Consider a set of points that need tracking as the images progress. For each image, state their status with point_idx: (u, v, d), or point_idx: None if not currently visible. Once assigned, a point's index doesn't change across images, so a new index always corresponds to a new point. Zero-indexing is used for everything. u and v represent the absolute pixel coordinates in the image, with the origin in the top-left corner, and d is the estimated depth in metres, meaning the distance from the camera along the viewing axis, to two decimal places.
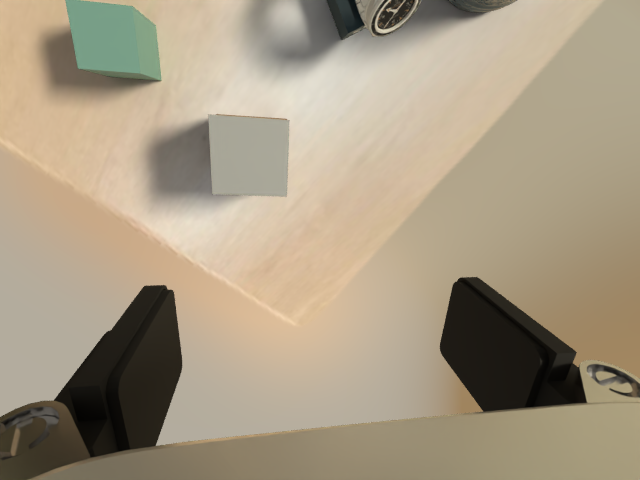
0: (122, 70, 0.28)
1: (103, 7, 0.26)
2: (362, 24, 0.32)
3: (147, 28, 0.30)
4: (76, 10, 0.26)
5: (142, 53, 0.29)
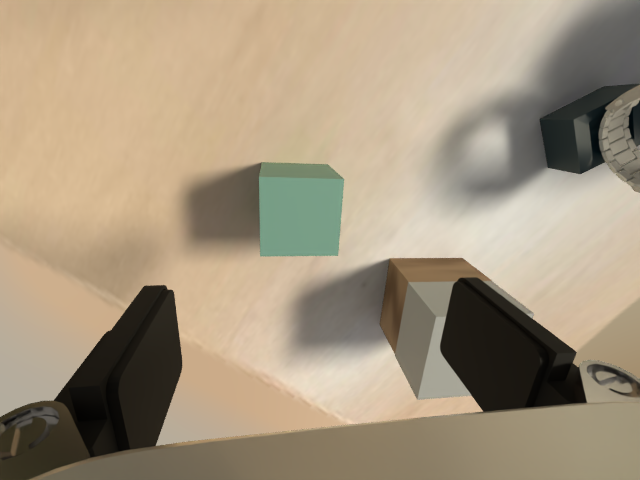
0: (315, 253, 0.21)
1: (306, 183, 0.19)
2: (600, 162, 0.24)
3: None
4: (271, 189, 0.19)
5: None
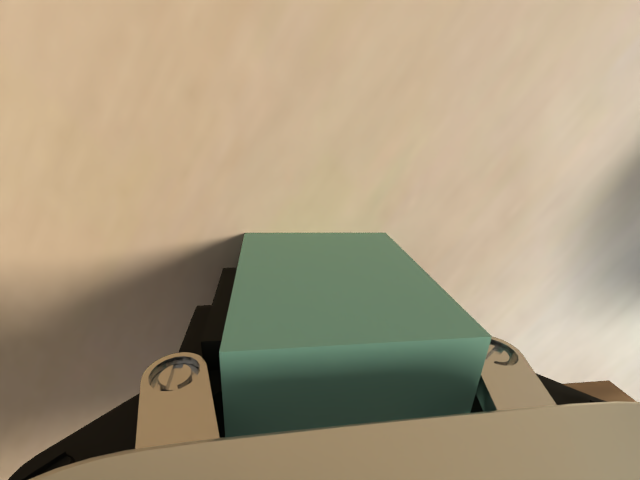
0: None
1: (377, 357, 0.06)
2: None
3: None
4: (261, 383, 0.06)
5: None
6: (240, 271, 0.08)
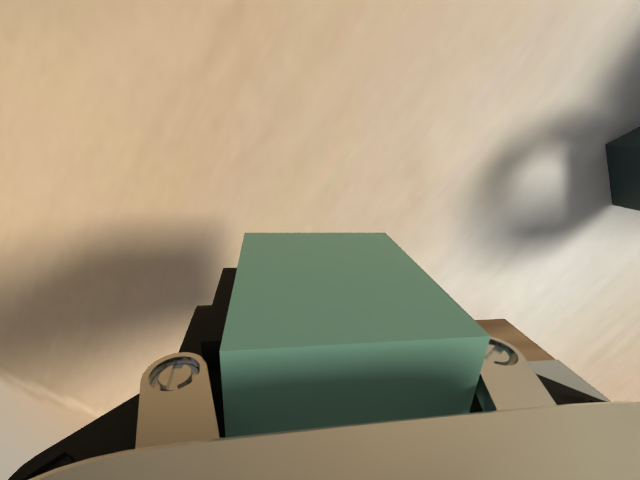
0: None
1: (376, 356, 0.06)
2: None
3: None
4: (261, 382, 0.06)
5: None
6: (240, 271, 0.08)
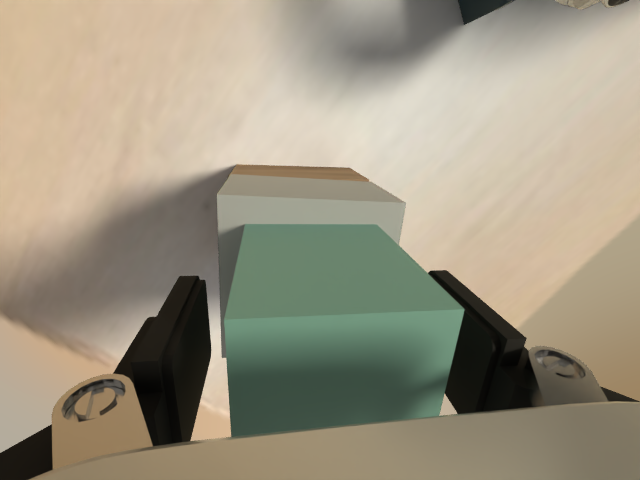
0: None
1: (362, 326, 0.07)
2: None
3: None
4: (261, 348, 0.06)
5: None
6: (241, 256, 0.09)
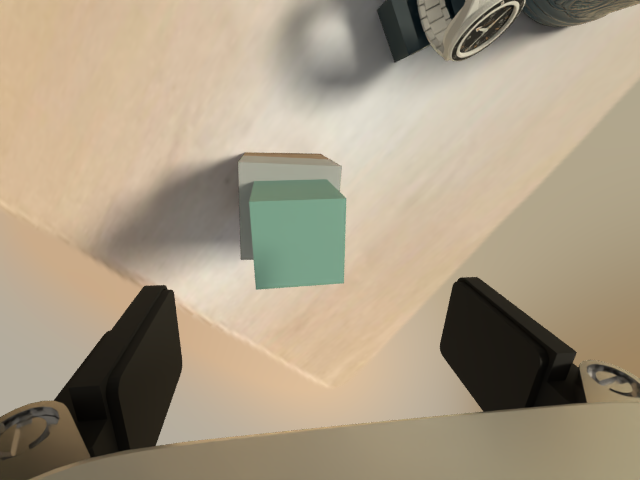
0: (318, 282, 0.18)
1: (304, 205, 0.17)
2: (426, 44, 0.26)
3: None
4: (263, 215, 0.16)
5: None
6: (253, 189, 0.19)
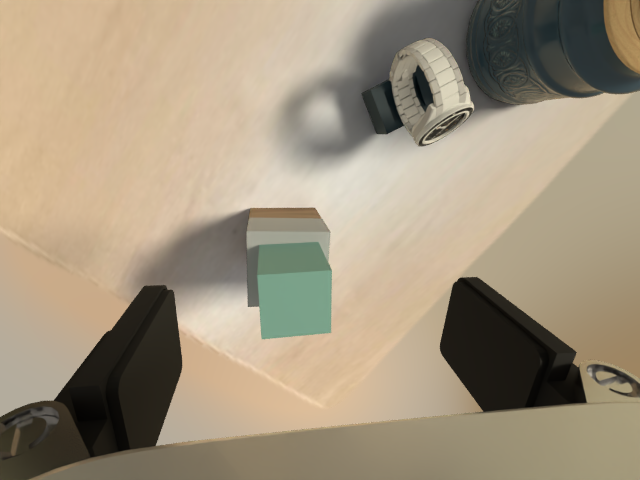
0: (311, 333, 0.23)
1: (299, 276, 0.22)
2: (401, 125, 0.31)
3: None
4: (268, 284, 0.21)
5: None
6: (259, 257, 0.24)
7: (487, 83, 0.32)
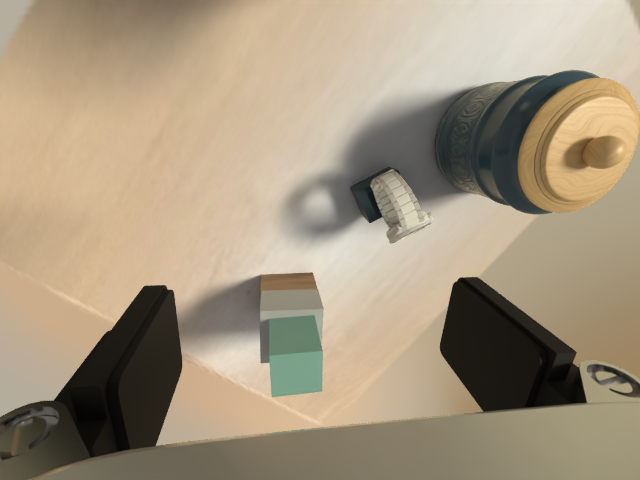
0: (307, 391, 0.32)
1: (299, 355, 0.30)
2: (381, 216, 0.39)
3: None
4: (277, 361, 0.30)
5: None
6: (270, 335, 0.32)
7: (451, 180, 0.40)
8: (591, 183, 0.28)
